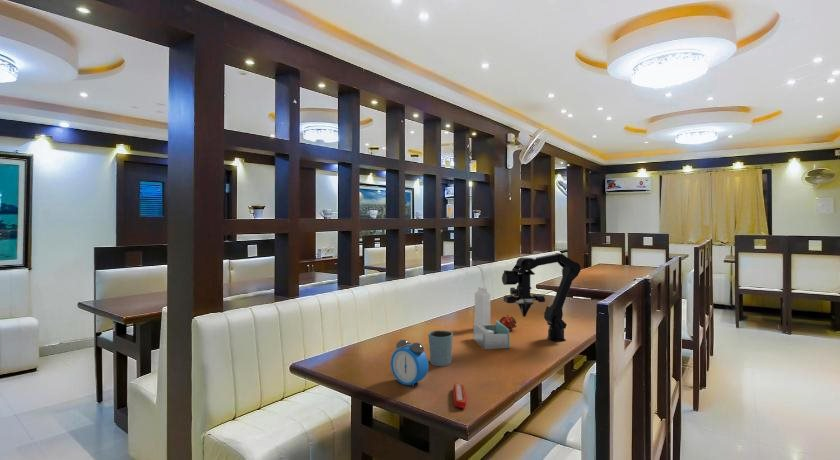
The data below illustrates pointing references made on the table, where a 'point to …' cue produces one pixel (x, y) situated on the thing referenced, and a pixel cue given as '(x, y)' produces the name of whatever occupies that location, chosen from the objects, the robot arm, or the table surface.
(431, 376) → the table surface
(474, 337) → the dock
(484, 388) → the table surface
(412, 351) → the alarm clock
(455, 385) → the candy bar
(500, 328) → the drawer
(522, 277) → the robot arm
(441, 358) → the grey-green cup
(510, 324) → the dragon fruit
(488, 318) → the milk
